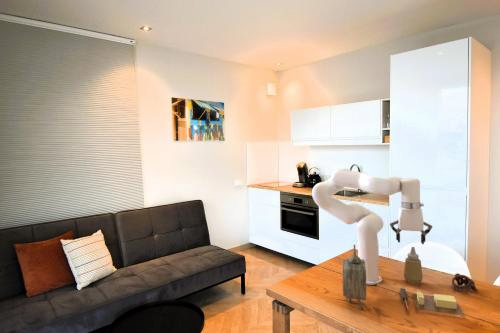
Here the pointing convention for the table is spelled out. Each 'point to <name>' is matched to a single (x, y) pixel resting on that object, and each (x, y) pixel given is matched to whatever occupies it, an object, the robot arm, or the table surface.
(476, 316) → the table surface
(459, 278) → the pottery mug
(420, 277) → the squeeze bottle
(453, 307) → the butter
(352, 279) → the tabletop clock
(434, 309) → the cutting board
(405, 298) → the knife
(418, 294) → the butter slice
